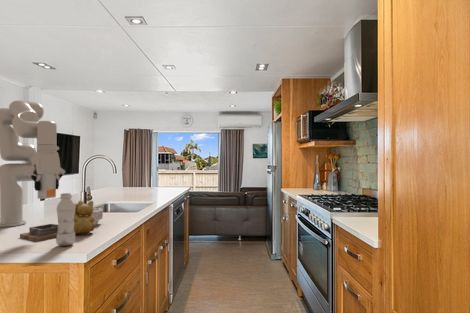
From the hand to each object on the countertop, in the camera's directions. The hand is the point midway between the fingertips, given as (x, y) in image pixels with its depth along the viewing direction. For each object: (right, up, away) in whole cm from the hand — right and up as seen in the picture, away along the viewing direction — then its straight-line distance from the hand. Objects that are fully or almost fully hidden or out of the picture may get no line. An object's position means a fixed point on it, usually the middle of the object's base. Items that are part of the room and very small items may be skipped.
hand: (46, 189), depth 139 cm
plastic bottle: (+17, -20, -16) cm, 31 cm away
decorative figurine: (+15, -20, +2) cm, 26 cm away
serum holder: (0, -20, 0) cm, 20 cm away
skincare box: (0, -4, 0) cm, 4 cm away
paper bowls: (+7, -21, +23) cm, 31 cm away
